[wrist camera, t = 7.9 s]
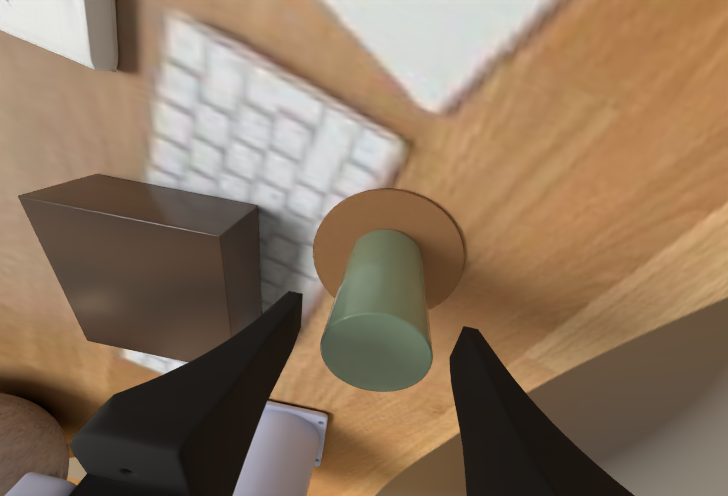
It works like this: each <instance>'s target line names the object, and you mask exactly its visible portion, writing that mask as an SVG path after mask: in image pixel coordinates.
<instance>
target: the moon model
mask: <svg viewBox="0 0 728 496" xmlns="http://www.w3.org/2000/svg"><path fill="white" fill-rule="evenodd" d="M68 468H69V451H68V444H67V441H66V438H65V434H64V432H63V430H62V429H61V427H60V425H59V424H58V422H57V421H56V420H55V418H54V417H53V416H51V415H50V414H49V413H48V412H47V411H46V410H45V409H43V408H42V407H40V406H39V405H37V404H35V403H33V402H31V401H28V400H26V399H23V398H20V397H17V396H14V395H10V394H4V393H0V496H5V495H6V494H7V493H8V492H9V491H10V490H11V489H12V488H13V487H14V486H15V485H16V484H17V483H18V482H19V481H20V479H21V478H22V477H23V476H24V475H25V474H27V473H30V472H34V473H38V474H43V475H47V476H51V477H56V478H60V479H64V480H67V476H68Z"/></svg>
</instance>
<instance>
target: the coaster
mask: <svg viewBox="0 0 728 496" xmlns="http://www.w3.org/2000/svg"><path fill="white" fill-rule="evenodd" d="M382 229H388V230H394V231H398V232H401V233H403V234H405V235H407V236H408V237H410V238H411V239H412V240H413V241H414V242H415V243H416V244H417V245H418V247H419V249H420V251H421V253H422V257H423V265H424V275H425V284H426V294H427V304H428V310H430V309H432V308H434V307H435V306H437V305H438V304H440V303H441V302H442V301H443V300H445V299H446V298H447V297H448V295H449V294H450V293H451V292H452V291H453V289H454V288H455V286H456V285H457V283H458V281H459V279H460V276H461V273H462V270H463V264H464V249H463V243H462V240H461V237H460V234H459V232H458V230H457V228H456V226H455V224H454V223H453V221H452V220H451V219H450V217H449V216H448V215H447V214H446V213H445V212H444V211H443V210H442V209H441V208H440V207H439V206H437V205H436V204H435V203H433V202H432V201H430V200H428V199H426V198H425V197H423V196H420V195H418V194H415V193H412V192H408V191H404V190H398V189H374V190H368V191H364V192H361V193H358V194H355V195H353V196H351V197H349V198H347V199H345V200H343V201H342V202H340V203H339V204H338V205H337V206H335V207H334V208H333V209H332V210H331V211H330V212H329V213H328V214H327V216H326V217H325V218H324V220H323V221H322V223H321V225H320V227H319V229H318V231H317V233H316V237H315V240H314V246H313V258H314V264H315V268H316V271H317V274H318V276H319V278H320V280H321V282H322V283H323V285H324V287H325V288H326V289H327V290H328V292H329V293H330V294H331V295H332V296H333V297H334V298H335V296H336V293H337V290H338V287H339V284H340V281H341V278H342V275H343V272H344V269H345V266H346V263H347V260H348V257H349V254H350V251H351V249H352V247H353V245H354V244H355V242H356V241H357V240H358V239H359V238H360V237H362V236H363V235H365V234H367V233H369V232H372V231H375V230H382Z"/></svg>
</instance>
